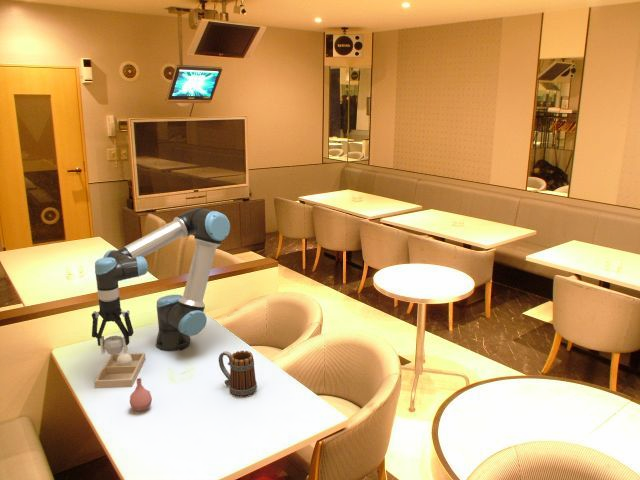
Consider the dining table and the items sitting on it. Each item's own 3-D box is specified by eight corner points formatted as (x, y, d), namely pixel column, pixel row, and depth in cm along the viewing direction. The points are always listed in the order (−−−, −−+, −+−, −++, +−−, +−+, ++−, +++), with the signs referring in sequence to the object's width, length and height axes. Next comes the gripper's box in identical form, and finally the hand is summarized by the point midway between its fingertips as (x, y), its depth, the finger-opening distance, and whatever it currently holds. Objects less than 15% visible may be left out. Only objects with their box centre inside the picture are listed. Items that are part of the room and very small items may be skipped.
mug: (262, 387, 214) (261, 352, 210) (247, 400, 204) (246, 364, 200) (228, 378, 220) (226, 344, 216) (213, 391, 211) (211, 356, 207)
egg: (134, 362, 231) (133, 350, 230) (130, 369, 226) (129, 356, 224) (119, 363, 231) (118, 350, 229) (115, 370, 225) (114, 357, 224)
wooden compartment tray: (145, 360, 234) (145, 353, 233) (132, 388, 213) (131, 379, 212) (112, 361, 233) (111, 354, 232) (95, 389, 212) (94, 381, 211)
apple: (129, 352, 215) (127, 337, 213) (110, 359, 209) (108, 344, 208) (119, 346, 220) (117, 331, 218) (100, 353, 215) (98, 337, 213)
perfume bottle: (129, 405, 201) (126, 376, 198) (151, 401, 204) (148, 372, 201) (131, 416, 194) (128, 386, 191) (153, 412, 197) (151, 382, 194)
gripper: (139, 293, 213) (144, 347, 219) (84, 295, 211) (90, 348, 217) (134, 301, 206) (139, 356, 212) (77, 302, 204) (84, 357, 210)
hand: (114, 352), depth 215 cm, fingers closed on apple, 8 cm apart
